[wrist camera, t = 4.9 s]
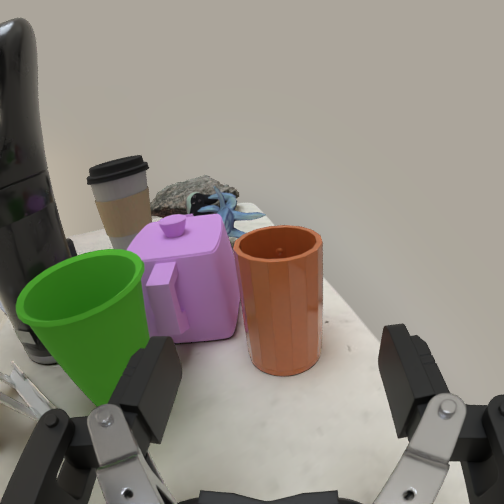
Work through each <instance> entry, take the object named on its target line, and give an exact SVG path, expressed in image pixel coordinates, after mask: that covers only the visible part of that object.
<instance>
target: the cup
mask: <svg viewBox="0 0 504 504" xmlns="http://www.w3.org/2000/svg"><path fill="white" fill-rule="evenodd" d="M144 271H145V269H144V262H143V261H142V260H141V258H140V257H139V256H138V255H137V254H135V253H133V252H131V251H127V250H122V249H106V250H98V251H93V252H88V253H84V254H81V255H78V256H75V257H72V258H69V259H67V260H64V261H62V262H60V263H58V264H56V265H54V266H52V267H50V268H48V269H47V270H45V271H43V272H42V273H40V274H39V275H37V276H36V277H35V278H34V279H33V280H31V281H30V282H29V283H28V284H27V285H26V286H25V288H24V289H23V290H22V291H21V293H20V295H19V296H18V298H17V303H16V313H17V316H18V318H19V319H20V320H21V321H22V322H23V323H25V324H28V325H29V326H30V327H31V328H32V330H33V331H34V333H35V334H36V335H37V337H38V338H39V339H40V341H41V342H42V343H43V345H44V346H45V347H46V349H47V350H48V351H49V352H50V354H51V355H52V356H53V358H54V359H55V360H56V361H57V362H58V364H59V365H60V366H61V367H62V369H63V370H64V371H65V372H66V373H67V374H68V376H69V377H70V378H71V379H72V380H73V381H74V383H75V384H76V385H77V386H78V387H79V388H80V389H81V390H82V391H83V393H84V394H85V395H86V396H87V397H88V398H89V399H90V400H91V401H92V402H93V403H94V404H95V405H96V406H97V407H98V406H100V405H103V404H107V403H108V401H109V399H110V397H111V395H112V393H113V391H114V389H115V387H116V385H117V383H118V381H119V379H120V377H121V376H122V375H123V374H122V373H123V372H124V370H125V368H126V366H127V364H128V362H129V360H130V358H131V356H132V355H133V354H135V353H136V352H137V351H138V350H139V349H140V348H145V347H146V345H147V343H148V341H149V339H150V337H149V331H148V325H147V319H146V312H145V305H144V298H143V291H142V283H141V278H142V275H143V273H144Z"/></svg>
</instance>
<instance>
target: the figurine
mask: <svg viewBox="0 0 504 504" xmlns="http://www.w3.org/2000/svg"><path fill="white" fill-rule="evenodd" d="M214 189H215V191H216V194H213V195H210V194H201V193H195V194H194V195H193V196H192V197H191V201H190V202H191V209H190V214H193V216H200V215H209V214H212V212H214V213H217V214H219V215H220V216H221V217H222V220H223V223H224V226H225V229H226V232H227V235H228V236H230V237H236V238H239V237H241V236H242V235H243V234H246V233H245V232H242V231H240V230H238V229H236V228H234V222H235V221H237V220H253V219H257V218H261V217H263V216H265V215H266V214H263V213H259V212H256V213H243V212H238V211H234V209H235V207H236V204H237V200H236V197H235V195H233V194H231V193H224V192H220V190H219V189H218V188H216V187H215V186H214ZM218 199H219V201H220V208H219V207H218V206H216V205H212V204H214V203H216V202H217V201H218ZM225 201H227V203H225ZM228 238H229V237H228Z"/></svg>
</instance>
